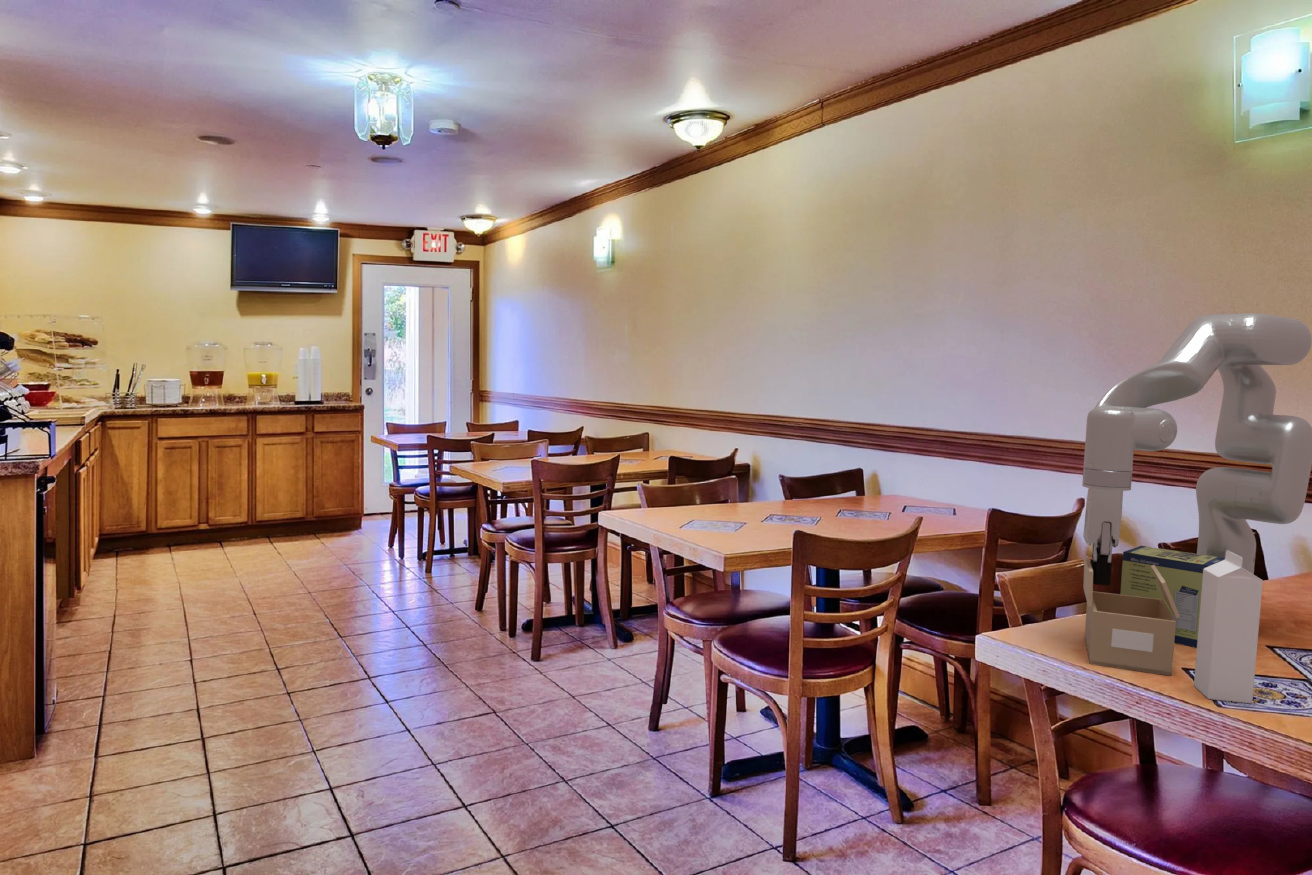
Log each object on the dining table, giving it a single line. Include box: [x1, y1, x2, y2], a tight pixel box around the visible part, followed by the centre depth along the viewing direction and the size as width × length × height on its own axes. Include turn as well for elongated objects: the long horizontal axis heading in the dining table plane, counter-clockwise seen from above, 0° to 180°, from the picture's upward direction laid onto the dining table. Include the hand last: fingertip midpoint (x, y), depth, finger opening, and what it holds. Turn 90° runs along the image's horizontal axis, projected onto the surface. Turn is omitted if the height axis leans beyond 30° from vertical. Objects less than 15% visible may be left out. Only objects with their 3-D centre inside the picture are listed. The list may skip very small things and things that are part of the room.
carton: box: [1084, 590, 1176, 677], centre depth 151 cm, size 16×12×9 cm
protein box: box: [1119, 545, 1225, 649], centre depth 165 cm, size 10×16×16 cm
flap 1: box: [1083, 555, 1094, 607], centre depth 153 cm, size 15×1×6 cm, turn 157°
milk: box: [1193, 550, 1264, 704], centre depth 133 cm, size 6×6×22 cm
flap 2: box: [1151, 565, 1180, 618], centre depth 148 cm, size 15×1×6 cm, turn 157°
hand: (1099, 583), depth 152 cm, fingers closed
